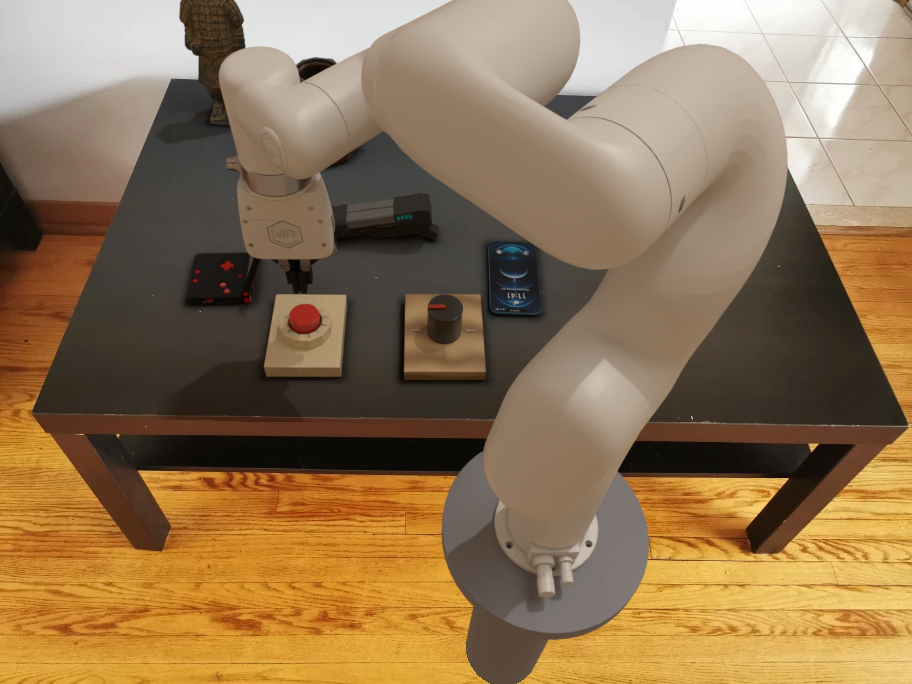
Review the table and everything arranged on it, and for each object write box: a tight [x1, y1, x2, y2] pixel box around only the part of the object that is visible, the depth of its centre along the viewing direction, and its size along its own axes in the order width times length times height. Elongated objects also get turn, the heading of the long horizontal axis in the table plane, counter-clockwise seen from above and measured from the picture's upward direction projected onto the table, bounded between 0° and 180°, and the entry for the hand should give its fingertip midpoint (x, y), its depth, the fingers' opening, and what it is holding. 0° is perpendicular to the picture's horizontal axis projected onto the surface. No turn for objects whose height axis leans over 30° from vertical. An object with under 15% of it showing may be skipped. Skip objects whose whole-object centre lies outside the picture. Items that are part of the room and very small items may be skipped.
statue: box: [178, 0, 247, 126], centre depth 119 cm, size 10×8×30 cm
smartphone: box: [487, 240, 542, 316], centre depth 108 cm, size 8×1×15 cm
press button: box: [289, 304, 320, 334], centre depth 96 cm, size 4×4×2 cm
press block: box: [263, 293, 348, 378], centre depth 98 cm, size 13×10×4 cm
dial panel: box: [403, 293, 487, 381], centre depth 99 cm, size 14×11×2 cm
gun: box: [331, 192, 440, 241], centre depth 111 cm, size 4×20×10 cm, turn 92°
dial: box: [427, 293, 463, 344], centre depth 97 cm, size 5×5×5 cm
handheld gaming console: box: [185, 252, 262, 305], centre depth 101 cm, size 9×12×10 cm
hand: (301, 285), depth 90 cm, fingers closed
